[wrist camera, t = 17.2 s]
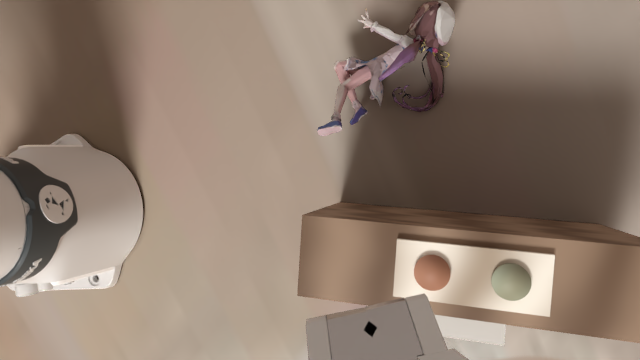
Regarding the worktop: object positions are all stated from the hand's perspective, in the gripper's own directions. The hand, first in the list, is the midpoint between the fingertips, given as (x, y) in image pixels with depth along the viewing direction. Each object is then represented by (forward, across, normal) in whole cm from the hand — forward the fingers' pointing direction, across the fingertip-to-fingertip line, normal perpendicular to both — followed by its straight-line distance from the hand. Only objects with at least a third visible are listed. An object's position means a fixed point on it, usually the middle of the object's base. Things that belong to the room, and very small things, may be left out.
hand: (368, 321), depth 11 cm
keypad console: (+25, -10, +23) cm, 35 cm away
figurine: (+36, -8, +9) cm, 38 cm away
